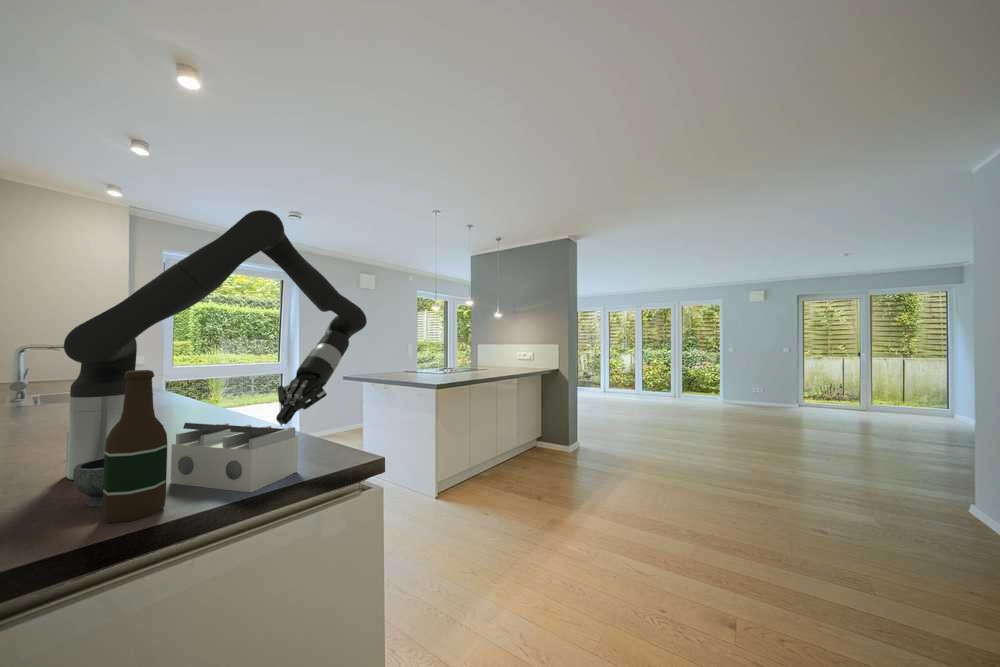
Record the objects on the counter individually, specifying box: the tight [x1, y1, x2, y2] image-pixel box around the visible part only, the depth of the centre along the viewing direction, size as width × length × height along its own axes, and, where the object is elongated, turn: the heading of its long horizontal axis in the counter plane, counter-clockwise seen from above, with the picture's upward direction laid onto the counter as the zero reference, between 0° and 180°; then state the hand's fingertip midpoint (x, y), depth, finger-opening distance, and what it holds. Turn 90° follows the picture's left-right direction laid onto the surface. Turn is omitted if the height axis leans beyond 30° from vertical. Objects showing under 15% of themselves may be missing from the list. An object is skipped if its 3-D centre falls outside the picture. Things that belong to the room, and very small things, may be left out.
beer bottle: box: [102, 369, 168, 524], centre depth 64 cm, size 8×8×24 cm
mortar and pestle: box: [73, 458, 104, 508], centre depth 70 cm, size 11×9×12 cm
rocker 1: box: [183, 422, 235, 431], centre depth 82 cm, size 5×10×1 cm, turn 167°
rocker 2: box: [230, 425, 286, 434], centre depth 80 cm, size 5×10×1 cm, turn 167°
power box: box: [170, 422, 299, 493], centre depth 81 cm, size 20×12×10 cm, turn 77°
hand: (281, 421), depth 85 cm, fingers closed
